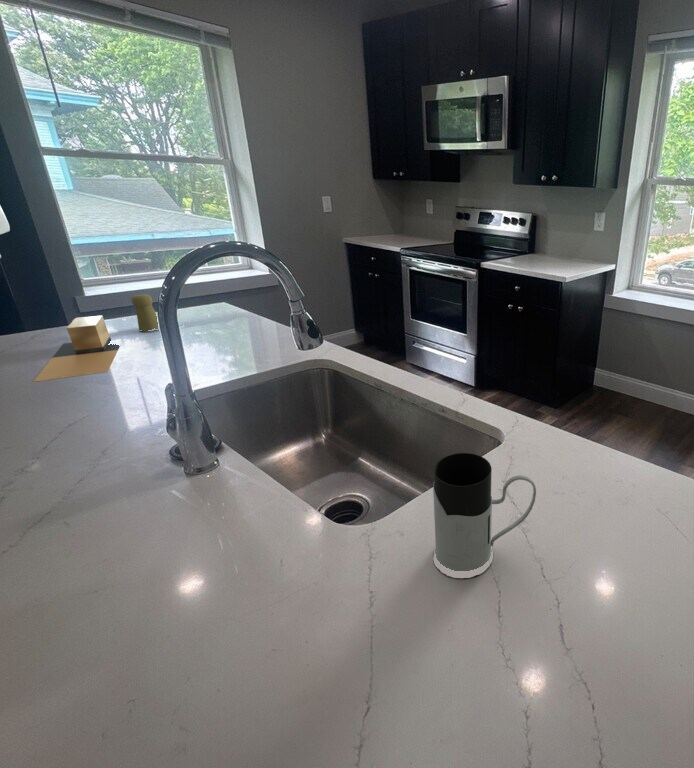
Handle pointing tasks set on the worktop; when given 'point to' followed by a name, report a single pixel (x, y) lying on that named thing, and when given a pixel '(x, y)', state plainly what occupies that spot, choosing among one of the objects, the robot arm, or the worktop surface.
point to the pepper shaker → (145, 312)
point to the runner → (77, 363)
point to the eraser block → (89, 334)
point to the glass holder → (466, 510)
